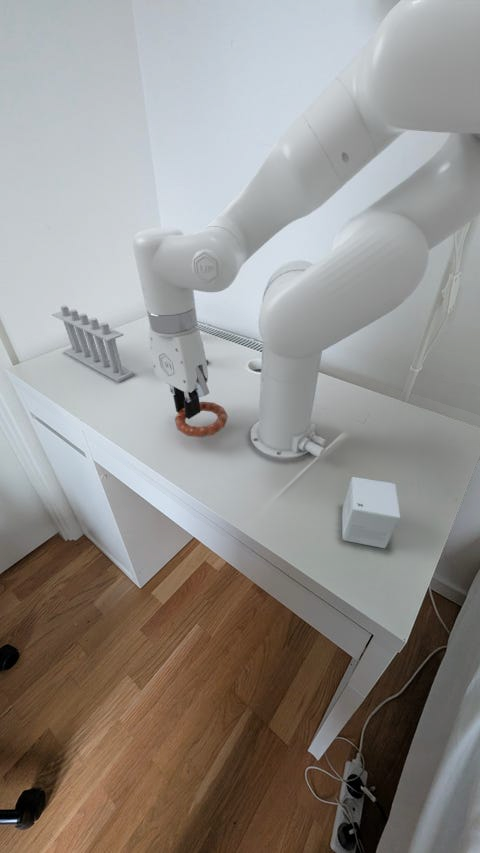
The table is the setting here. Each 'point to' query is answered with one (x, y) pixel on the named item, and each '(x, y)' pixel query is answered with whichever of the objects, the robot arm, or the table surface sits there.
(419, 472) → the table surface
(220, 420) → the ring
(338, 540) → the table surface
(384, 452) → the table surface
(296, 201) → the robot arm
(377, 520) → the product box
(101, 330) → the test tube rack
